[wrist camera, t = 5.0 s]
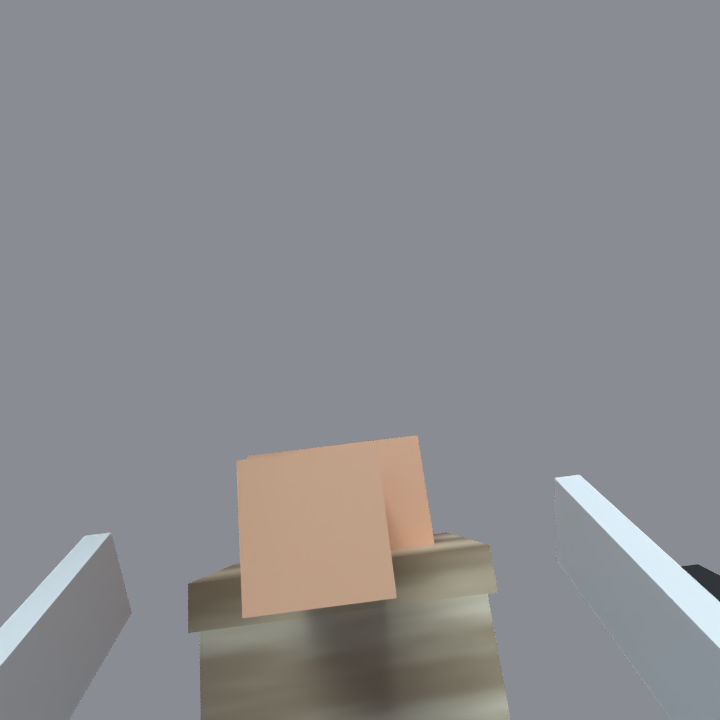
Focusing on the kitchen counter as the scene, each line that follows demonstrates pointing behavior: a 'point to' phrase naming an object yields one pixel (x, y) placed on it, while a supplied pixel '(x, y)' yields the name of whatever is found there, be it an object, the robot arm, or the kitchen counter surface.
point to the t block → (328, 523)
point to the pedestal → (358, 647)
